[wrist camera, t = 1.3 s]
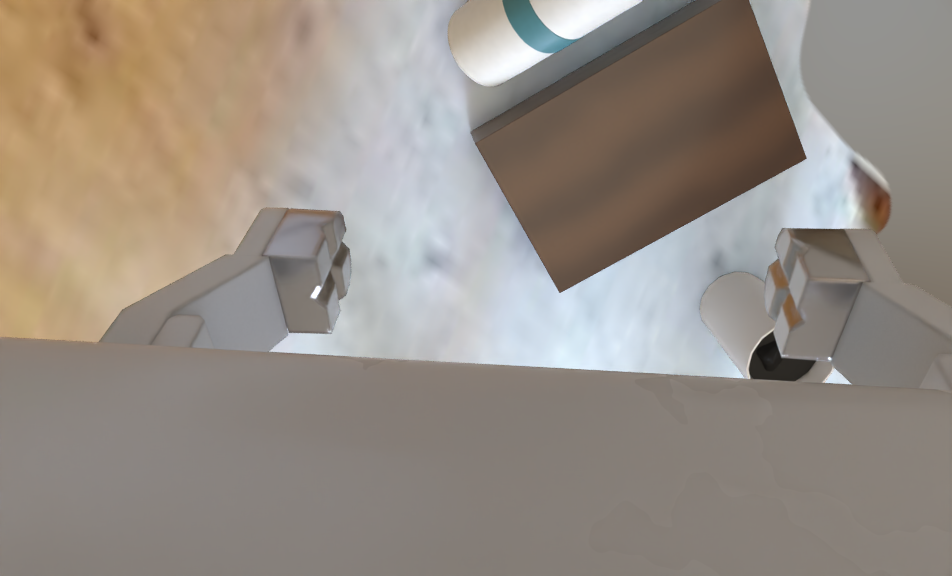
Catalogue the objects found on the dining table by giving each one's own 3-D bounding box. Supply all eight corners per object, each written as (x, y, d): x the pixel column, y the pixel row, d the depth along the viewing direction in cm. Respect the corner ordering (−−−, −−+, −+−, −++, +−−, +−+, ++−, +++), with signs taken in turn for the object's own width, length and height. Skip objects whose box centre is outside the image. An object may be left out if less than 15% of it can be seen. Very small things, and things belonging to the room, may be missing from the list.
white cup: (711, 352, 62) (765, 417, 53) (682, 291, 59) (732, 348, 50) (783, 315, 61) (849, 374, 52) (756, 252, 59) (821, 302, 49)
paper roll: (482, 94, 52) (506, 128, 40) (430, 29, 50) (439, 44, 38) (630, -32, 49) (704, -37, 37) (582, -106, 47) (644, -136, 35)
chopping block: (470, 131, 53) (475, 143, 49) (719, -14, 50) (744, -14, 47) (550, 273, 58) (559, 293, 54) (780, 146, 55) (807, 158, 52)
